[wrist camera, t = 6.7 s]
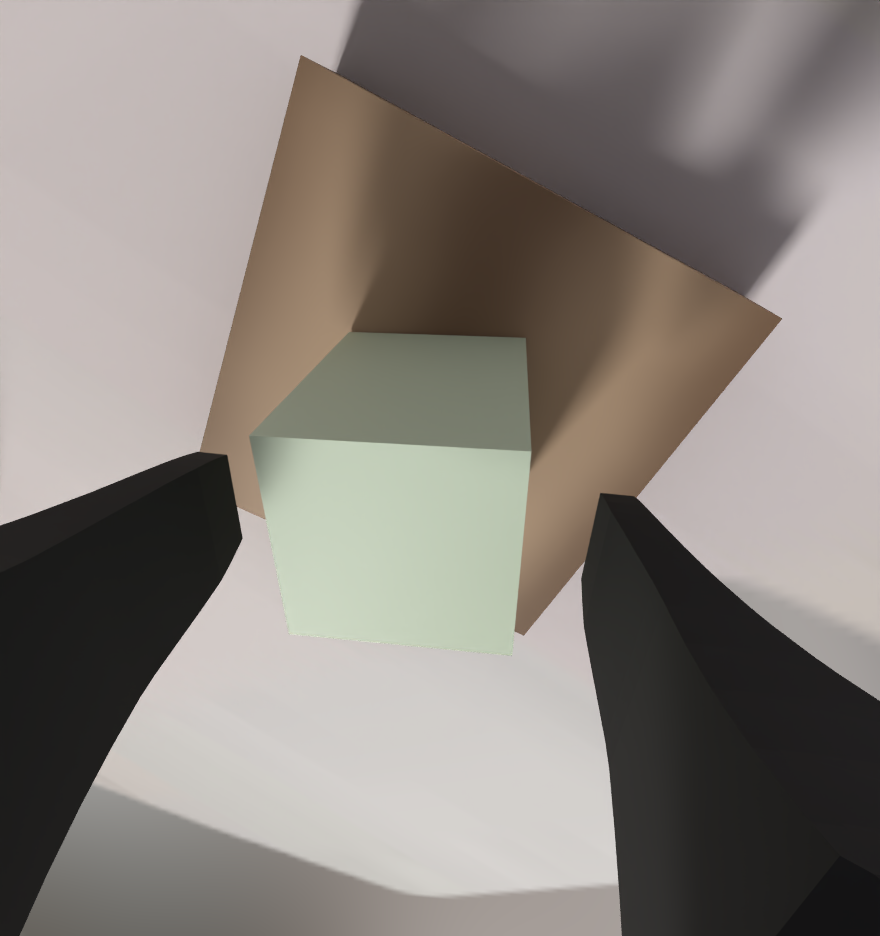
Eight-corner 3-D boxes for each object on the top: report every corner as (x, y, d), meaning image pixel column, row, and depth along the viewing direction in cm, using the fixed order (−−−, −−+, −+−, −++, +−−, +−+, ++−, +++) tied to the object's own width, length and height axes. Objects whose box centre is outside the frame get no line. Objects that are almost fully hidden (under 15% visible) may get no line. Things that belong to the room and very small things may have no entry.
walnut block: (737, 292, 15) (782, 318, 12) (523, 577, 21) (523, 635, 18) (342, 75, 14) (300, 54, 11) (234, 443, 20) (190, 485, 17)
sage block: (525, 337, 13) (531, 451, 8) (513, 491, 16) (512, 655, 10) (349, 331, 14) (249, 435, 9) (362, 481, 16) (288, 634, 11)
